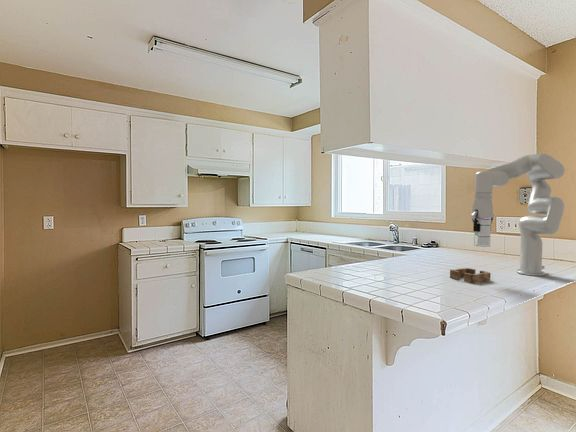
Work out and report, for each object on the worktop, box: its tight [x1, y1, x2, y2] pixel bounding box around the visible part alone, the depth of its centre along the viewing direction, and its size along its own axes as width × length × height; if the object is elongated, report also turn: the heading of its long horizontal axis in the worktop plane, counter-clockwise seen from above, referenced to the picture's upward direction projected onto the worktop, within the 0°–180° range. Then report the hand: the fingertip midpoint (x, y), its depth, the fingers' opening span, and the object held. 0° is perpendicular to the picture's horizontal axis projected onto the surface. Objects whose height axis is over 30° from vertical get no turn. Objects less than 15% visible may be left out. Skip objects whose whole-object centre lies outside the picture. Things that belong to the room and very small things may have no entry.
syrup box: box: [473, 217, 492, 248], centre depth 165 cm, size 6×6×14 cm
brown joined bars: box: [449, 267, 491, 284], centre depth 167 cm, size 14×14×4 cm
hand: (482, 231), depth 165 cm, fingers closed on syrup box, 8 cm apart
